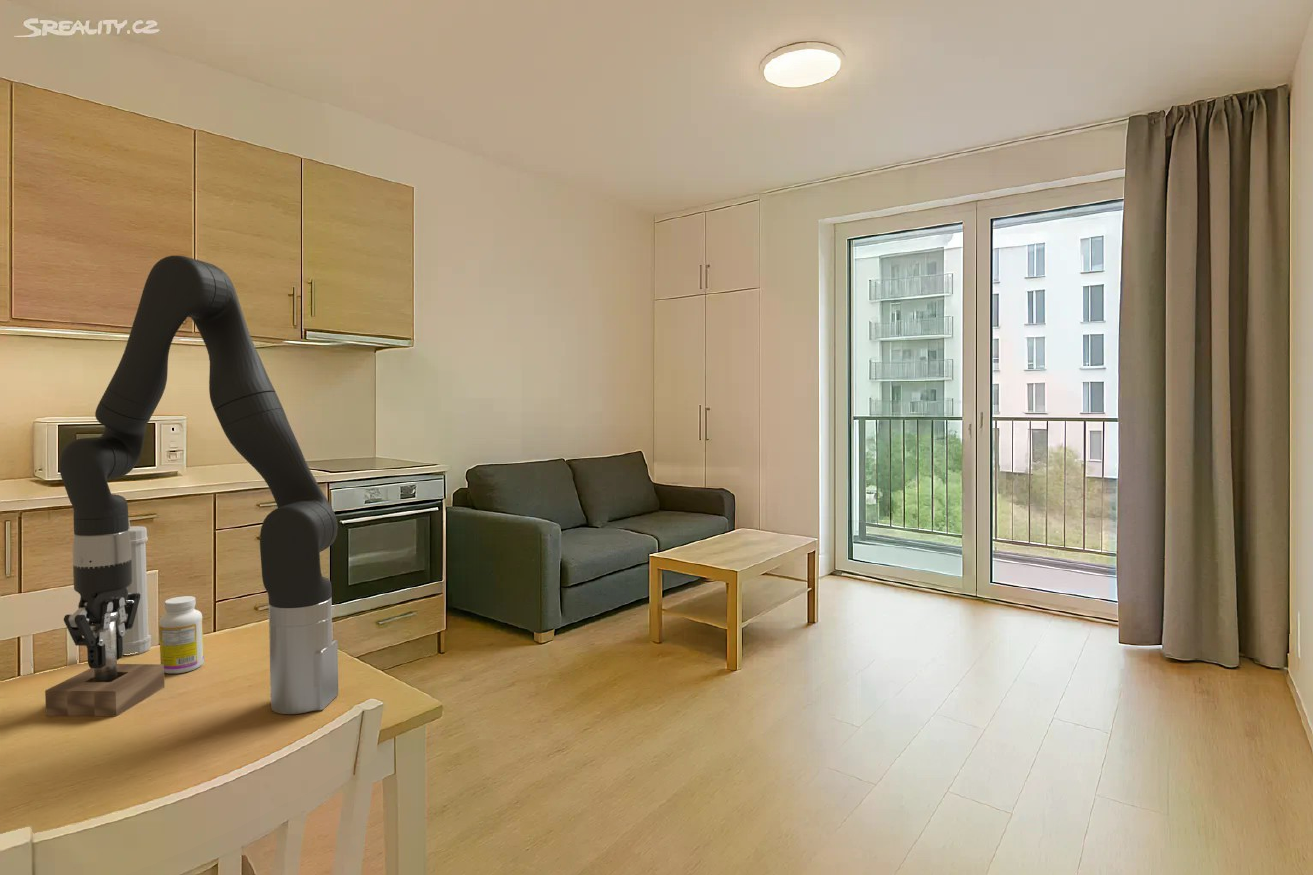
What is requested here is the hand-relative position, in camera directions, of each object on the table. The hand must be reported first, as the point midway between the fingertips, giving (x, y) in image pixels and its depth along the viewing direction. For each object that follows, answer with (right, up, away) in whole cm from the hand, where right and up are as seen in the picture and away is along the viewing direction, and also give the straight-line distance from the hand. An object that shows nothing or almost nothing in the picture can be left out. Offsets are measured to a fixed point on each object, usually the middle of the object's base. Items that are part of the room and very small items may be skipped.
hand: (106, 662), depth 117 cm
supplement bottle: (+3, -6, +14) cm, 16 cm away
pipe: (-12, -5, +22) cm, 26 cm away
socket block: (0, -6, 0) cm, 6 cm away
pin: (0, -4, 0) cm, 4 cm away
